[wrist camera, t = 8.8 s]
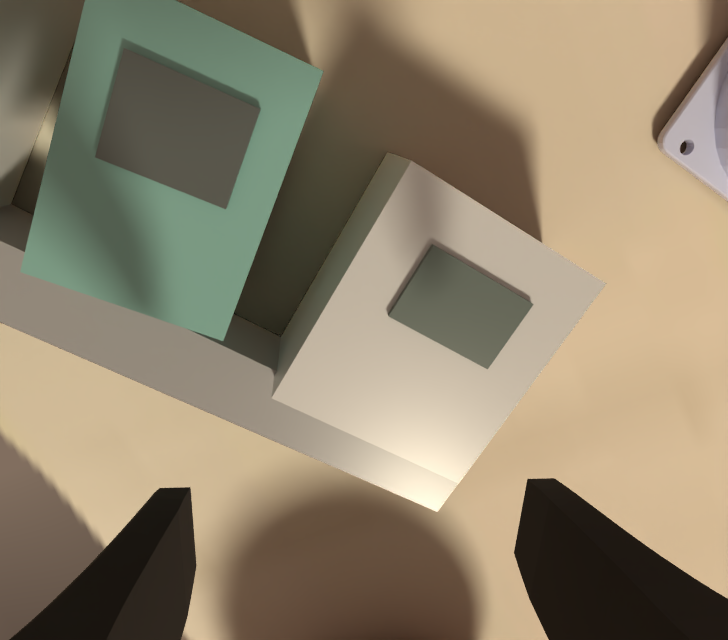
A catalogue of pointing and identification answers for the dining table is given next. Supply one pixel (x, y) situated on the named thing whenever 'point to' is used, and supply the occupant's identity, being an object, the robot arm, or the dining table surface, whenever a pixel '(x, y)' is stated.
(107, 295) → the block
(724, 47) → the robot arm
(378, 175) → the rail mount
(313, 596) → the dining table surface
